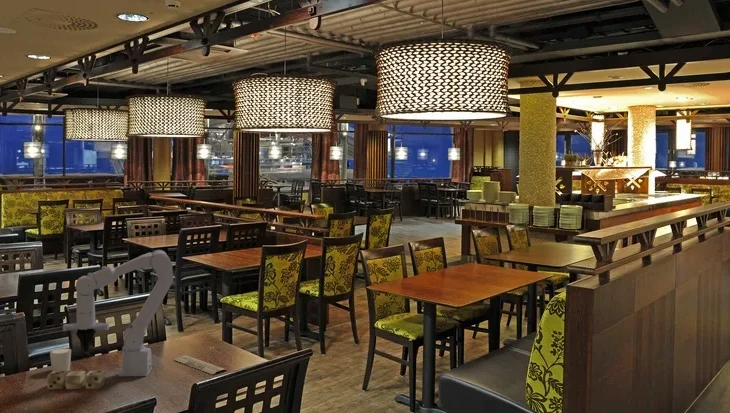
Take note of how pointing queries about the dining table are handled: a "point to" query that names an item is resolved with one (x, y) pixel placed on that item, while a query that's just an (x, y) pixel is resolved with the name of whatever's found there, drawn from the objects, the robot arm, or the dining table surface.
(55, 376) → the dotted block three
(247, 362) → the dining table surface
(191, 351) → the dining table surface
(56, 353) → the cream short cylinder
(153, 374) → the dining table surface
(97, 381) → the dotted block two
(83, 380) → the plain block
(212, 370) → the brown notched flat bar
